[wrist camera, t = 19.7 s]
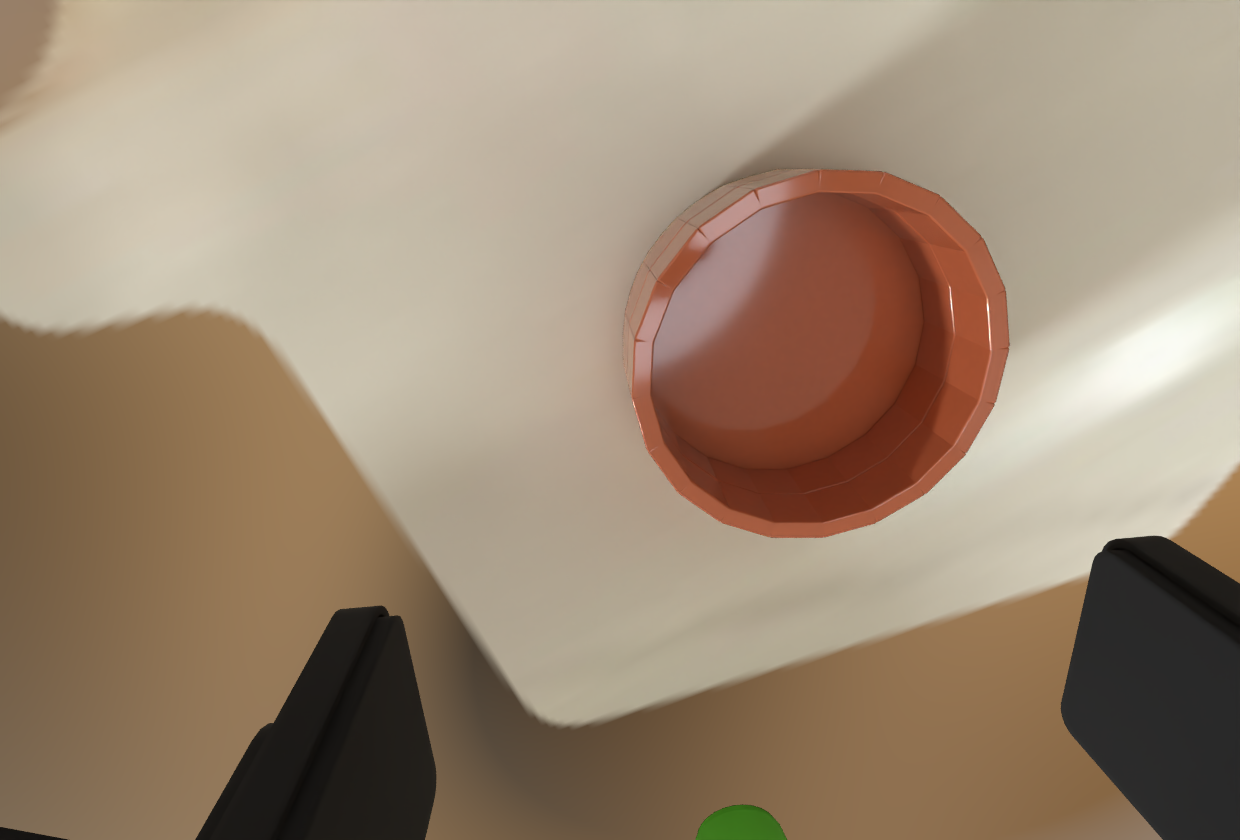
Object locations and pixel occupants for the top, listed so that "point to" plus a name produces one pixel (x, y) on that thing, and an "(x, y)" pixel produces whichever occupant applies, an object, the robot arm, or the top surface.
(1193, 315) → the top surface
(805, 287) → the bowl
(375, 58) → the top surface
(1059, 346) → the top surface
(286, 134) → the top surface
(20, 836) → the cake box
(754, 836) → the cup
